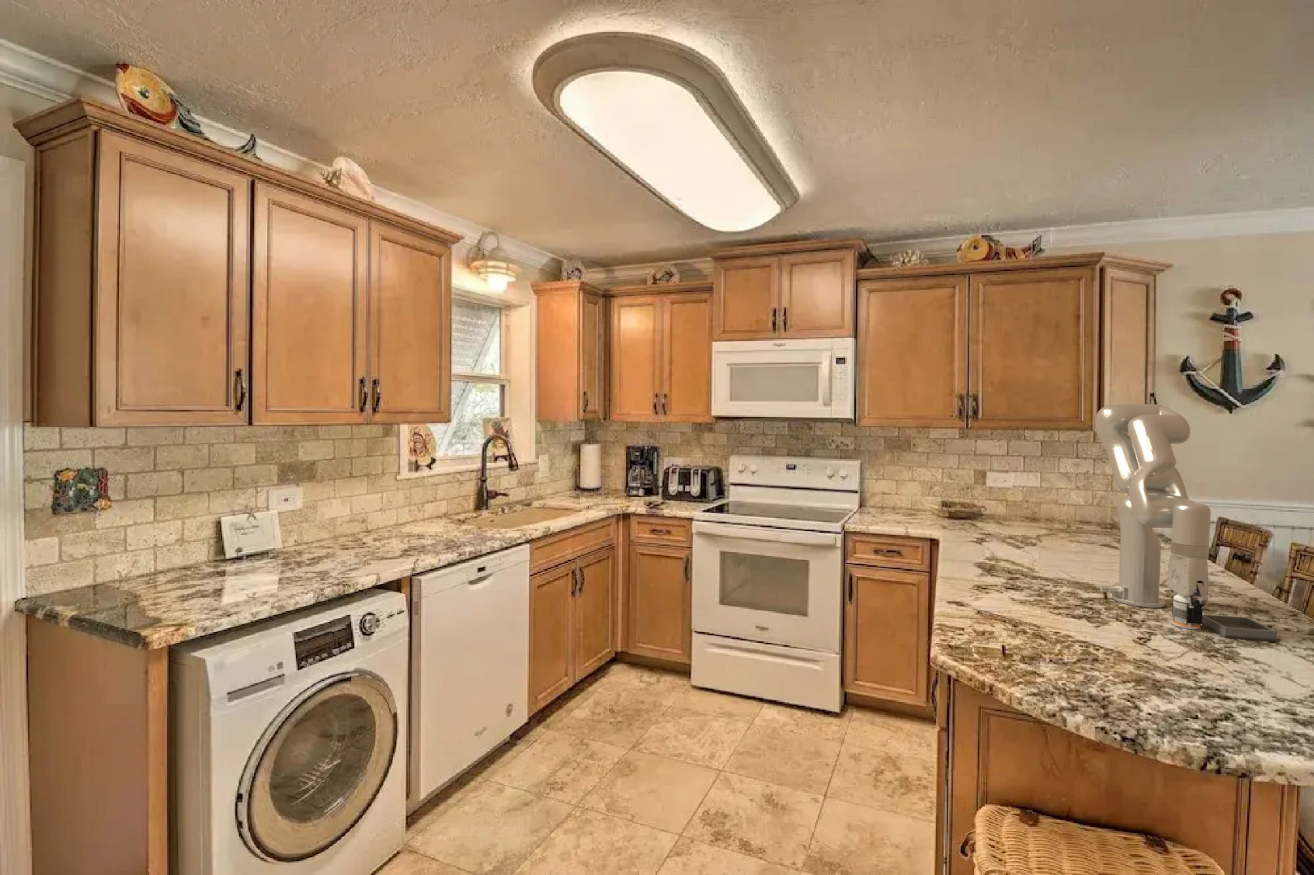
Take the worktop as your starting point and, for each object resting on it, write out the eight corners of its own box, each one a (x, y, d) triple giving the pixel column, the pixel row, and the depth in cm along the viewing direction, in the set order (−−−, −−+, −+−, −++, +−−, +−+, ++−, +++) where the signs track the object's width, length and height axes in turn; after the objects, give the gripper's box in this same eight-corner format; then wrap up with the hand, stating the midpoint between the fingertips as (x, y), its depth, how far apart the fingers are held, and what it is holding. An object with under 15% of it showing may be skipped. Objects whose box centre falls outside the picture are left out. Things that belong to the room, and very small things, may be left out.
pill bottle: (1194, 624, 169) (1196, 587, 169) (1204, 631, 164) (1206, 592, 163) (1168, 621, 171) (1170, 584, 170) (1177, 628, 166) (1179, 590, 165)
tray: (1224, 637, 159) (1225, 627, 159) (1199, 623, 170) (1199, 614, 169) (1276, 641, 157) (1277, 631, 157) (1247, 626, 167) (1247, 617, 167)
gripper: (1155, 543, 176) (1152, 608, 176) (1192, 557, 159) (1189, 629, 160) (1187, 544, 174) (1184, 610, 175) (1227, 559, 157) (1224, 631, 158)
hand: (1186, 618), depth 167 cm, fingers closed on pill bottle, 5 cm apart
